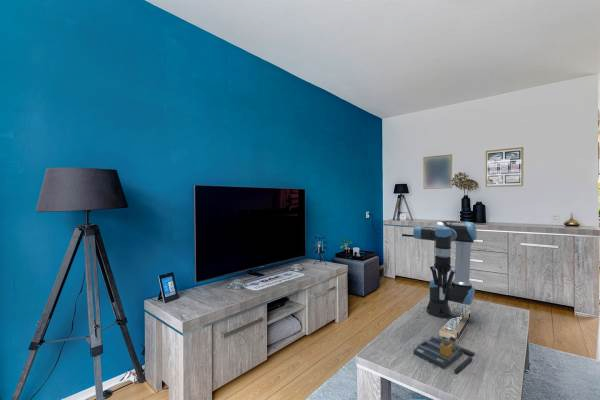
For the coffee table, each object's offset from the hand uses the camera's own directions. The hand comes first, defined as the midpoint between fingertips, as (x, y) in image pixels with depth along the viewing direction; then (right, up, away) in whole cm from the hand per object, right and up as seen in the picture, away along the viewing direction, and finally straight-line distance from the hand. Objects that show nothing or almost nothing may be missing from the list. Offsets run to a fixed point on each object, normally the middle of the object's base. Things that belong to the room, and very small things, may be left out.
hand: (442, 299), depth 150 cm
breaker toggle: (-4, -25, -11) cm, 27 cm away
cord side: (+3, -27, -16) cm, 31 cm away
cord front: (+6, -26, 0) cm, 27 cm away
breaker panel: (-5, -27, -6) cm, 28 cm away
